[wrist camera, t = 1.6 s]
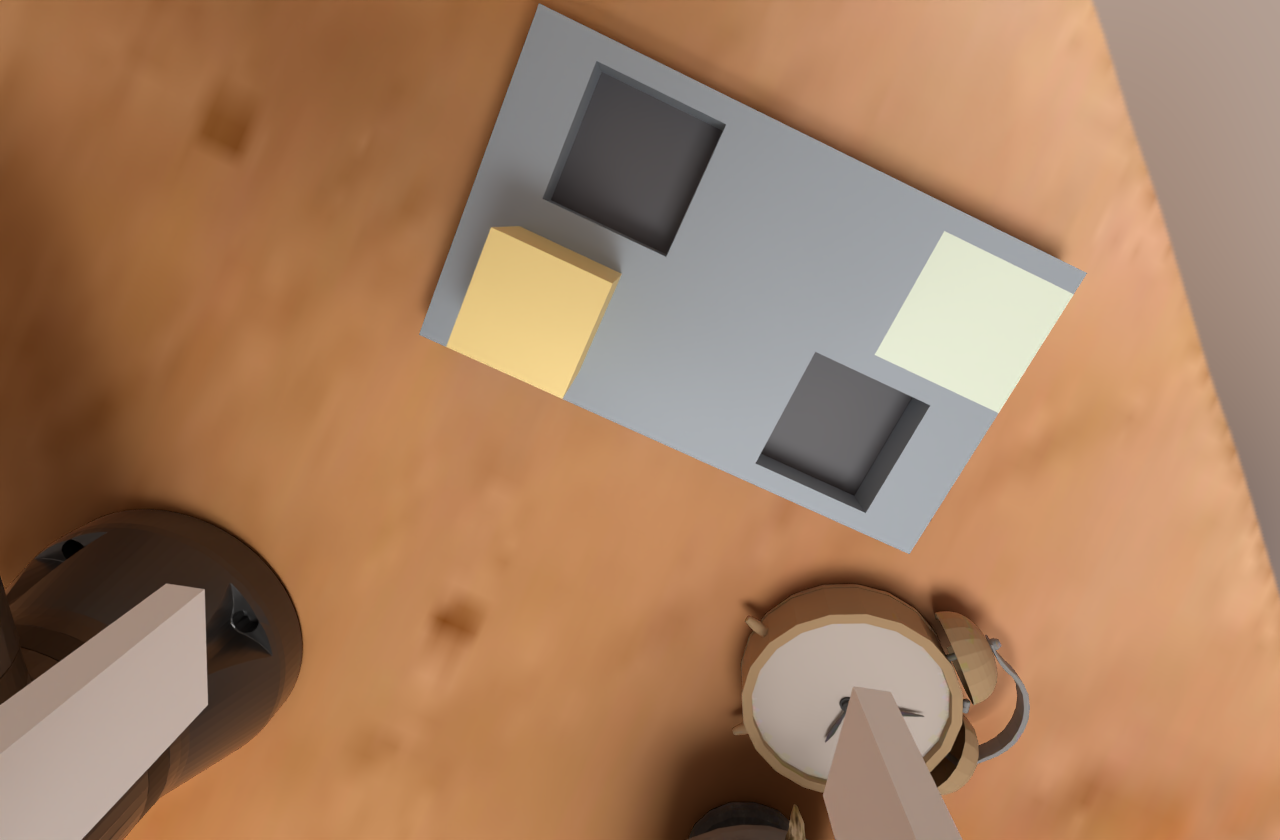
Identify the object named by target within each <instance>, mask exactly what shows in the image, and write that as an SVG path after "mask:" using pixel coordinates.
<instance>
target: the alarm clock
mask: <svg viewBox="0 0 1280 840" xmlns="http://www.w3.org/2000/svg"><path fill="white" fill-rule="evenodd" d="M935 618H936V619H939V620H940V622H941V624H942V626H943V628H944V630H945V632H946V634H947V637H948V639H949V641H950V643H951V646H949V647H948V648H947V650H948V652H949V654H948V655H945V653H944V651H943V648H942V646H941V644H940V642H939V639H938V636H937V634H936V632H935V631H934V630H933V628H932V627H931V626H930V625H929V624H928V623H927V621H926V620H925V619H924V618H923V617H922V616H921V614H920V613H919V612H918V611H917V610H916V609H915V608H913V607H912V606H910V605H908V604H907V603H905V602H903V601H902V600H900V599H898V598H897V597H895V596H893V595H892V594H890V593H889V592H885V591H881V590H877V589H873V588H870V587H866V586H862V585H858V584H835V585H820V586H817V587H814V588H811V589H807V590H804V591H801V592H799V593H796V594H793V595H791V596H789V597H788V598H787V599H785V600H784V601H783V602H781V603H780V604H778V605H777V606H776V607H774V608H773V609H771V610H770V611H769V612H767V613H766V614H765V616H764V617H763V618H762V620H761V621H759V620H757V619H755V618H753V617H751V616H748V617H747V618H746V620H745V622H746V623H747V624H748V625H749V626H750V628H751V629H752V630H753V632H752V633H751V635H750V636H749V638H748V641H747V644H746V648H745V651H744V654H743V658H742V661H741V674H742V708H743V723H741V724H739V725H737V726H735V727H733V728H732V730H733V734H734V735H744V734H749V736H750V738H751V741H752V743H753V745H754V747H755V749H756V750H757V752H758V753H759V754H760V755H761V756H762V757H763V758H764V759H765V760H766V761H767V762H768V763H769V764H770V765H771V767H772V768H773V769H774V770H775V771H776V772H778V773H780V774H781V775H783V776H785V777H786V778H788V779H790V780H792V781H793V782H795V783H797V784H798V785H800V786H802V787H804V788H807V789H811V790H815V791H818V792H822V793H824V790H825V786H826V782H827V779H828V775H829V772H830V768H831V764H832V761H833V757H834V754H835V750H836V746H837V743H838V739H839V736H840V732H841V729H842V725H843V721H844V718H845V714H846V711H847V707H848V703H849V700H850V696H851V693H852V689H853V686H855V687H862V688H869V689H875V690H882V691H889V692H891V693H892V696H893V698H894V700H895V702H896V704H897V706H898V708H899V710H900V712H901V714H902V716H903V718H904V720H905V722H906V724H907V726H908V729H909V731H910V733H911V735H912V737H913V739H914V741H915V743H916V745H917V747H918V749H919V751H920V753H921V755H922V757H923V759H924V762H925V764H926V766H927V768H928V770H929V772H930V774H931V776H932V778H933V780H934V782H935V784H936V786H937V788H938V790H939V792H940V795H946V794H949V793H953V792H955V791H957V790H959V789H960V788H961V787H962V786H964V785H965V784H966V783H967V782H968V781H969V779H970V778H971V777H972V775H973V773H974V771H975V769H976V766H977V764H978V763H981V762H984V761H986V760H989V759H992V758H994V757H997V756H998V755H1000V754H1002V753H1004V752H1005V751H1007V750H1008V749H1009V748H1010V747H1012V746H1013V745H1014V744H1015V743H1016V742H1017V740H1018V739H1019V737H1020V736H1021V734H1022V733H1023V732H1024V729H1025V727H1026V724H1027V722H1028V719H1029V710H1030V705H1029V696H1028V693H1027V691H1026V689H1025V686H1024V684H1023V683H1022V681H1021V680H1020V678H1019V676H1018V675H1017V673H1016V672H1015V671H1014V669H1013V668H1012V667H1011V666H1010V665H1009V664H1008V663H1007V662H1006V661H1005V660H1004V659H1003V658H1002V657H1001V656H1000V655H999V654H998V653H997V651H996V650H998V649H999V648H1000V647H1001V644H1000V642H999V640H998V639H994V638H992V639H989V638H988V636H987V635H985V636H984V635H983V633H982V632H981V631H980V629H979V628H978V627H977V626H976V625H975V624H974V623H973V622H972V621H971V620H970V619H968V618H967V617H965V616H963V615H961V614H959V613H956V612H951V611H941V612H936V613H935ZM985 637H986V638H985ZM986 639H987V640H986ZM993 653H994V655H995V657H996V658H997V660H998V662H999V663H1000V665H1001V666H1002V667H1003V669H1004V670H1005V671H1006V672H1007V673H1008V674H1009V675H1011V676H1012V677H1013V679H1014V681H1015V683H1016V689H1017V703H1016V709H1015V711H1014V714H1013V716H1012V718H1011V720H1010V722H1009V723H1008V725H1007V726H1006V728H1005V729H1004V730H1003V731H1002V732H1001V733H1000V734H998V735H997V736H996V737H995V738H993V739H991V740H990V741H988V742H986V743H984V744H981V745H979V746H978V740H977V736H976V733H975V730H974V728H973V726H972V725H971V724H970V722H969V721H968V720H967V718H966V717H965V716H964V715H963V713H968V711H969V706H970V701H969V700H968V699H963V693H962V690H961V688H960V685H959V682H958V679H957V677H956V674H955V671H954V669H953V666H952V664H951V662H950V661H952V662H953V664H954V667H955V669H956V671H957V673H958V676H959V678H960V680H961V682H962V684H963V687H964V689H965V691H966V693H967V695H968V697H969V699H970V700H971V702H972V704H973V705H975V704H978V703H981V702H982V701H984V700H986V699H987V698H988V697H989V696H990V695H991V694H992V692H993V690H994V688H995V685H996V683H997V667H996V662H995V658H994V655H993Z"/></svg>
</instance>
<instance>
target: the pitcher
mask: <svg viewBox="0 0 1280 840" xmlns="http://www.w3.org/2000/svg"><path fill="white" fill-rule="evenodd" d="M686 840H808V839H806V838H805V830H804V822H803V819H802V817H801V814H800V812H799V809H798V806H797V805H796V804H794V805H793V807H792V811H791V814H790V821H789V820H788V819H787V818H786V817H785V816H783V815H782V814H781V813H780V812H779V811H778V810H776V809H773V808H770V807H767V806H764V805H761V804H758V803H755V802H730V803H728V804H725V805H723V806H720V807H718V808H715V809H713V810H710V811H709V812H708V813H707V814H706V815H705V816H704V817H703V818H701V819H700V820H699V821H698V822H697V823H696V824H695V825H694V827H693V829H692V831H691V833H690V836H689V838H688V839H686Z"/></svg>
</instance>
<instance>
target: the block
mask: <svg viewBox="0 0 1280 840" xmlns="http://www.w3.org/2000/svg"><path fill="white" fill-rule="evenodd" d="M621 275H622V274H621V273H619V272H617V271H615V270H613V269H610V268H608V267H606V266H604V265H602V264H600V263H597V262H595V261H593V260H591V259H589V258H587V257H585V256H582V255H580V254H578V253H576V252H574V251H572V250H570V249H567V248H565V247H563V246H561V245H559V244H557V243H555V242H552V241H550V240H548V239H546V238H544V237H542V236H539V235H537V234H535V233H533V232H531V231H529V230H527V229H524V228H522V227H520V226H510V227H491V229H490V231H489V234H488V237H487V239H486V242H485V245H484V247H483V250H482V253H481V255H480V258H479V261H478V263H477V266H476V269H475V271H474V274H473V277H472V279H471V282H470V285H469V287H468V290H467V293H466V295H465V298H464V301H463V303H462V306H461V309H460V311H459V314H458V317H457V319H456V322H455V325H454V327H453V330H452V333H451V335H450V338H449V341H448V343H447V346H446V347H448V348H450V349H452V350H454V351H456V352H459V353H461V354H463V355H465V356H468V357H470V358H472V359H474V360H477V361H479V362H481V363H483V364H486V365H488V366H490V367H492V368H494V369H497V370H499V371H501V372H503V373H506V374H508V375H510V376H512V377H515V378H517V379H519V380H521V381H523V382H526V383H528V384H530V385H532V386H535V387H537V388H539V389H541V390H544V391H546V392H548V393H550V394H553V395H555V396H557V397H559V398H561V399H563V397H564V396H565V394H566V392H567V391H568V389H569V387H570V386H571V384H572V383H573V381H574V379H575V378H576V376H577V375H578V373H579V371H580V368H581V366H582V364H583V362H584V359H585V357H586V355H587V352H588V350H589V348H590V346H591V343H592V341H593V339H594V336H595V334H596V332H597V330H598V327H599V325H600V323H601V320H602V318H603V316H604V314H605V311H606V309H607V307H608V304H609V302H610V300H611V298H612V295H613V293H614V291H615V288H616V286H617V284H618V282H619V279H620V277H621Z"/></svg>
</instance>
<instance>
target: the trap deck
mask: <svg viewBox="0 0 1280 840" xmlns="http://www.w3.org/2000/svg"><path fill="white" fill-rule="evenodd" d="M510 226H520V227H522V228H524V229H527V230H529V231H531V232H533V233H535V234H537V235H539V236H542V237H544V238H546V239H548V240H550V241H552V242H555V243H557V244H559V245H561V246H563V247H565V248H567V249H570V250H572V251H574V252H576V253H578V254H580V255H582V256H585V257H587V258H589V259H591V260H593V261H595V262H597V263H600V264H602V265H604V266H606V267H608V268H610V269H613V270H615V271H617V272H619V273H621V274H622V275H621V277H620V279H619V282H618V284H617V286H616V288H615V291H614V293H613V295H612V298H611V300H610V302H609V304H608V307H607V309H606V311H605V314H604V316H603V318H602V320H601V323H600V325H599V327H598V330H597V332H596V334H595V336H594V339H593V341H592V343H591V346H590V348H589V350H588V352H587V355H586V357H585V359H584V362H583V364H582V366H581V368H580V371H579V373H578V375H577V376H576V378H575V379H574V381H573V383H572V384H571V386H570V387H569V389H568V391H567V392H566V394H565V396H564V397H563V399H564V400H566V401H568V402H571V403H573V404H575V405H577V406H579V407H582V408H584V409H586V410H588V411H591V412H593V413H595V414H597V415H600V416H602V417H604V418H606V419H609V420H611V421H613V422H615V423H617V424H620V425H622V426H624V427H626V428H629V429H631V430H633V431H635V432H638V433H640V434H642V435H644V436H647V437H649V438H651V439H653V440H655V441H658V442H660V443H662V444H664V445H667V446H669V447H671V448H673V449H676V450H678V451H680V452H682V453H685V454H687V455H689V456H691V457H693V458H696V459H698V460H700V461H702V462H705V463H707V464H709V465H711V466H714V467H716V468H718V469H720V470H723V471H725V472H727V473H729V474H731V475H734V476H736V477H738V478H740V479H743V480H745V481H747V482H749V483H752V484H754V485H756V486H758V487H760V488H763V489H765V490H767V491H769V492H772V493H774V494H776V495H778V496H781V497H783V498H785V499H787V500H790V501H792V502H794V503H796V504H798V505H801V506H803V507H805V508H807V509H810V510H812V511H814V512H816V513H819V514H821V515H823V516H825V517H828V518H830V519H832V520H834V521H836V522H839V523H841V524H843V525H845V526H848V527H850V528H852V529H854V530H857V531H859V532H861V533H863V534H866V535H868V536H870V537H872V538H874V539H877V540H879V541H881V542H883V543H886V544H888V545H890V546H892V547H895V548H897V549H899V550H901V551H904V552H906V553H908V554H910V552H911V551H912V549H913V547H914V546H915V544H916V543H917V541H918V540H919V538H920V536H921V535H922V533H923V532H924V530H925V528H926V527H927V525H928V524H929V522H930V521H931V519H932V517H933V516H934V514H935V513H936V511H937V509H938V508H939V506H940V505H941V503H942V502H943V500H944V498H945V497H946V495H947V494H948V492H949V491H950V489H951V487H952V486H953V484H954V483H955V481H956V479H957V478H958V476H959V475H960V473H961V472H962V470H963V468H964V467H965V465H966V464H967V462H968V461H969V459H970V457H971V456H972V454H973V453H974V451H975V449H976V448H977V446H978V445H979V443H980V442H981V440H982V438H983V437H984V435H985V434H986V432H987V430H988V429H989V427H990V426H991V424H992V423H993V421H994V419H995V418H996V416H997V415H998V413H999V412H1000V410H1001V408H1002V407H1003V405H1004V404H1005V402H1006V400H1007V399H1008V397H1009V396H1010V394H1011V393H1012V391H1013V389H1014V388H1015V386H1016V385H1017V383H1018V382H1019V380H1020V378H1021V377H1022V375H1023V374H1024V372H1025V370H1026V369H1027V367H1028V366H1029V364H1030V363H1031V361H1032V359H1033V358H1034V356H1035V355H1036V353H1037V351H1038V350H1039V348H1040V347H1041V345H1042V344H1043V342H1044V340H1045V339H1046V337H1047V336H1048V334H1049V333H1050V331H1051V329H1052V328H1053V326H1054V325H1055V323H1056V321H1057V320H1058V318H1059V317H1060V315H1061V314H1062V312H1063V310H1064V309H1065V307H1066V306H1067V304H1068V303H1069V301H1070V299H1071V298H1072V296H1073V295H1074V293H1075V291H1076V290H1077V288H1078V287H1079V285H1080V284H1081V282H1082V280H1083V279H1084V277H1085V276H1086V274H1087V273H1086V272H1084V271H1082V270H1080V269H1077V268H1075V267H1073V266H1071V265H1069V264H1067V263H1065V262H1063V261H1061V260H1059V259H1057V258H1055V257H1053V256H1051V255H1049V254H1047V253H1045V252H1043V251H1041V250H1039V249H1037V248H1035V247H1033V246H1031V245H1029V244H1027V243H1025V242H1023V241H1021V240H1019V239H1017V238H1015V237H1013V236H1010V235H1008V234H1006V233H1004V232H1002V231H1000V230H998V229H996V228H994V227H992V226H990V225H988V224H986V223H984V222H982V221H980V220H978V219H976V218H974V217H972V216H970V215H968V214H966V213H964V212H962V211H960V210H958V209H956V208H954V207H952V206H950V205H948V204H946V203H943V202H941V201H939V200H937V199H935V198H933V197H931V196H929V195H927V194H925V193H923V192H921V191H919V190H917V189H915V188H913V187H911V186H909V185H907V184H905V183H903V182H901V181H899V180H897V179H895V178H893V177H891V176H889V175H887V174H885V173H883V172H881V171H879V170H876V169H874V168H872V167H870V166H868V165H866V164H864V163H862V162H860V161H858V160H856V159H854V158H852V157H850V156H848V155H846V154H844V153H842V152H840V151H838V150H836V149H834V148H832V147H830V146H828V145H826V144H824V143H822V142H820V141H818V140H816V139H814V138H812V137H809V136H807V135H805V134H803V133H801V132H799V131H797V130H795V129H793V128H791V127H789V126H787V125H785V124H783V123H781V122H779V121H777V120H775V119H773V118H771V117H769V116H767V115H765V114H763V113H761V112H759V111H757V110H755V109H753V108H751V107H749V106H747V105H745V104H742V103H740V102H738V101H736V100H734V99H732V98H730V97H728V96H726V95H724V94H722V93H720V92H718V91H716V90H714V89H712V88H710V87H708V86H706V85H704V84H702V83H700V82H698V81H696V80H694V79H692V78H690V77H688V76H686V75H684V74H682V73H680V72H678V71H675V70H673V69H671V68H669V67H667V66H665V65H663V64H661V63H659V62H657V61H655V60H653V59H651V58H649V57H647V56H645V55H643V54H641V53H639V52H637V51H635V50H633V49H631V48H629V47H627V46H625V45H623V44H621V43H619V42H617V41H615V40H613V39H611V38H608V37H606V36H604V35H602V34H600V33H598V32H596V31H594V30H592V29H590V28H588V27H586V26H584V25H582V24H580V23H578V22H576V21H574V20H572V19H570V18H568V17H566V16H564V15H562V14H560V13H558V12H556V11H554V10H552V9H550V8H548V7H546V6H544V5H541V4H539V5H538V7H537V10H536V13H535V16H534V19H533V21H532V24H531V27H530V30H529V32H528V35H527V38H526V41H525V43H524V46H523V49H522V52H521V54H520V57H519V60H518V63H517V66H516V68H515V71H514V74H513V77H512V79H511V82H510V85H509V88H508V90H507V93H506V96H505V99H504V101H503V104H502V107H501V110H500V112H499V115H498V118H497V121H496V124H495V126H494V129H493V132H492V135H491V137H490V140H489V143H488V146H487V148H486V151H485V154H484V157H483V159H482V162H481V165H480V168H479V170H478V173H477V176H476V179H475V182H474V184H473V187H472V190H471V193H470V195H469V198H468V201H467V204H466V206H465V209H464V212H463V215H462V217H461V220H460V223H459V226H458V229H457V231H456V234H455V237H454V240H453V242H452V245H451V248H450V251H449V253H448V256H447V259H446V262H445V264H444V267H443V270H442V273H441V275H440V278H439V281H438V284H437V287H436V289H435V292H434V295H433V298H432V300H431V303H430V306H429V309H428V311H427V314H426V317H425V320H424V322H423V325H422V328H421V331H420V333H419V335H421V336H423V337H425V338H428V339H430V340H432V341H434V342H436V343H439V344H441V345H443V346H445V347H446V346H447V343H448V341H449V338H450V335H451V333H452V330H453V327H454V325H455V322H456V319H457V317H458V314H459V311H460V309H461V306H462V303H463V301H464V298H465V295H466V293H467V290H468V287H469V285H470V282H471V279H472V277H473V274H474V271H475V269H476V266H477V263H478V261H479V258H480V255H481V253H482V250H483V247H484V245H485V242H486V239H487V237H488V234H489V231H490V229H491V227H510Z"/></svg>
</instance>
